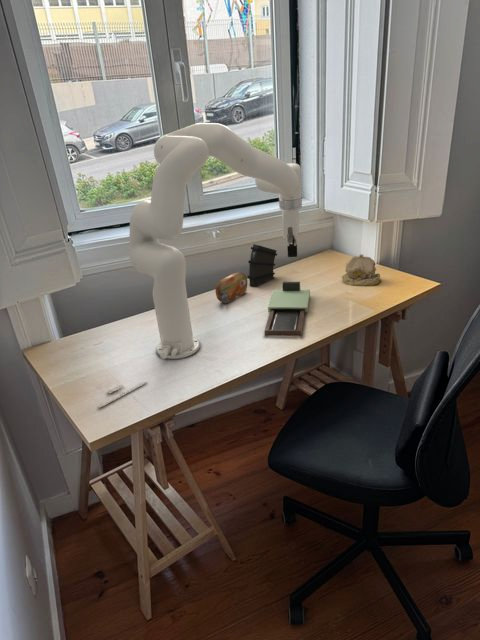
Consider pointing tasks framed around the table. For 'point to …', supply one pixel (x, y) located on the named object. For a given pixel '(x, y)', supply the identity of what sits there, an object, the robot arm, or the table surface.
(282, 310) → the tray
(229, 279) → the tin
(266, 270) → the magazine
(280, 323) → the panel
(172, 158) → the robot arm
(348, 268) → the ceramic model
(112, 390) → the picture light
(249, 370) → the table surface
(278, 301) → the lid
